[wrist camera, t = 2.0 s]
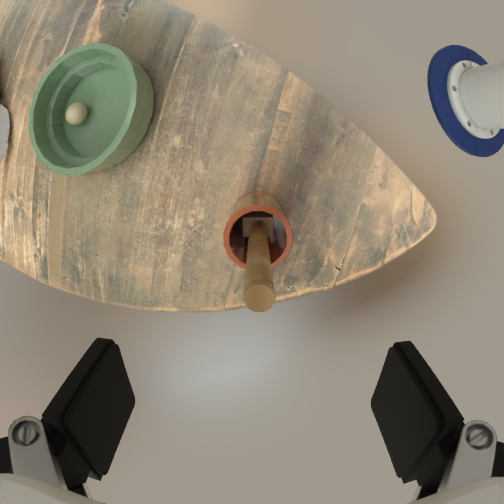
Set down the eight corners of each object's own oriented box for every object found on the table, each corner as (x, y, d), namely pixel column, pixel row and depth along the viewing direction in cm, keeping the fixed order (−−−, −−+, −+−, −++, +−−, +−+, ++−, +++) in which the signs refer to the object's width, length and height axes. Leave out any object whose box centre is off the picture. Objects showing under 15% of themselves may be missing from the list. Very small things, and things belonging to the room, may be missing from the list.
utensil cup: (283, 191, 33) (294, 206, 23) (281, 240, 35) (290, 272, 25) (232, 191, 33) (223, 205, 23) (233, 239, 35) (224, 271, 25)
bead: (92, 101, 29) (80, 98, 26) (91, 123, 30) (79, 122, 27) (74, 106, 29) (61, 103, 26) (73, 127, 30) (60, 126, 27)
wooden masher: (270, 208, 33) (290, 280, 14) (270, 225, 34) (288, 316, 15) (244, 208, 33) (228, 279, 14) (244, 225, 34) (229, 315, 15)
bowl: (159, 46, 27) (142, 29, 21) (155, 165, 32) (135, 167, 26) (60, 71, 27) (34, 64, 22) (56, 176, 32) (29, 181, 26)
